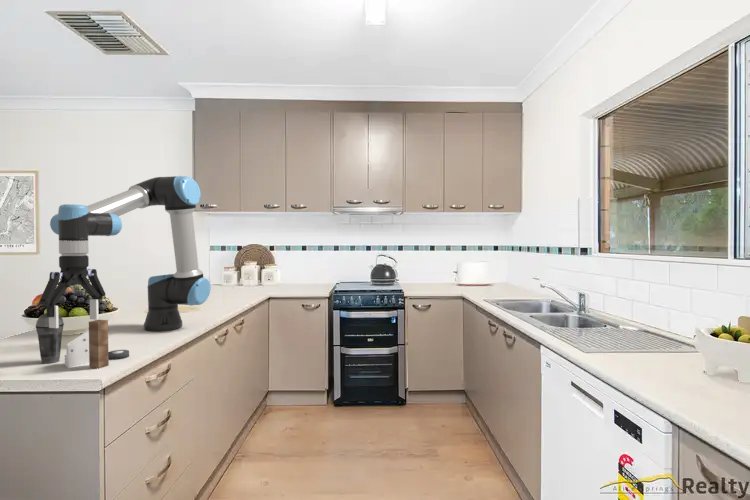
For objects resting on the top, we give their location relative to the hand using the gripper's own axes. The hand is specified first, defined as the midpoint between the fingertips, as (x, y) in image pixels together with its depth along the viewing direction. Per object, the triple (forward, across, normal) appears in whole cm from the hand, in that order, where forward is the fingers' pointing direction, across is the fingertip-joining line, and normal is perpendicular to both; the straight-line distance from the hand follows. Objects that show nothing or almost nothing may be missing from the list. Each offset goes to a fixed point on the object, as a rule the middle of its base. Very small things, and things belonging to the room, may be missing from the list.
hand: (75, 323), depth 135 cm
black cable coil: (+13, -10, +6) cm, 17 cm away
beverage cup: (+13, 0, -10) cm, 16 cm away
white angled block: (+13, 0, 0) cm, 13 cm away
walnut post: (+13, 0, +9) cm, 16 cm away
